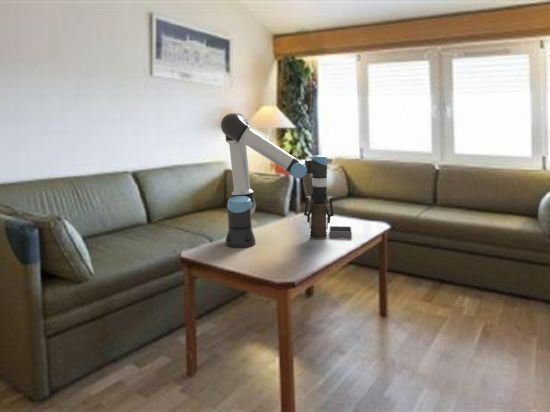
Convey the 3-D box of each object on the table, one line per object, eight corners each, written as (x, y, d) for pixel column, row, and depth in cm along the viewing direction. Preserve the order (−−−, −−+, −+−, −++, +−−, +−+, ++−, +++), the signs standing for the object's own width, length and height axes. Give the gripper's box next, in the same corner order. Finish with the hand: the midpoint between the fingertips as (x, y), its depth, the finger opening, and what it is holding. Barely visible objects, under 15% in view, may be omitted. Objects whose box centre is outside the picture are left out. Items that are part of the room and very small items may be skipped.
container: (326, 239, 237) (327, 205, 234) (308, 238, 239) (309, 204, 235) (327, 235, 246) (328, 201, 242) (310, 234, 248) (311, 201, 244)
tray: (329, 237, 242) (329, 231, 241) (329, 232, 253) (329, 226, 253) (351, 238, 240) (351, 231, 240) (350, 232, 252) (351, 226, 251)
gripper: (298, 186, 235) (298, 229, 239) (339, 187, 232) (338, 231, 237) (299, 184, 242) (299, 226, 247) (339, 185, 239) (338, 227, 244)
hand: (318, 228), depth 242 cm, fingers closed on container, 8 cm apart
